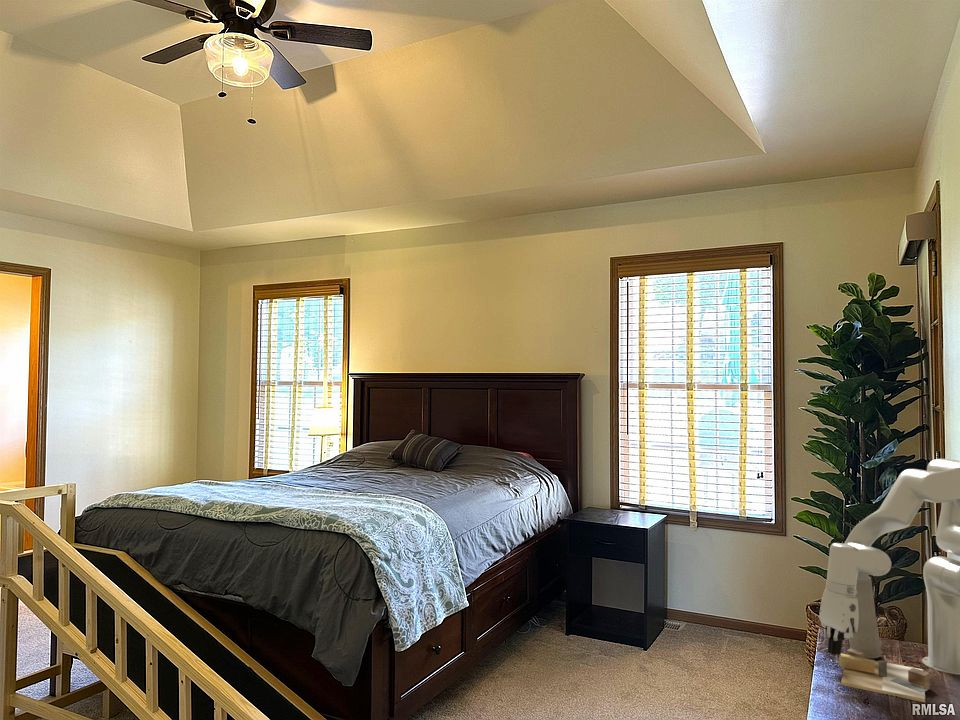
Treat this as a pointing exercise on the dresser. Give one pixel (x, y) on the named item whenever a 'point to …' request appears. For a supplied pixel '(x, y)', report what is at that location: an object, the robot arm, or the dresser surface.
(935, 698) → the dresser surface
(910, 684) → the door board
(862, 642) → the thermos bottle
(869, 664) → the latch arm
